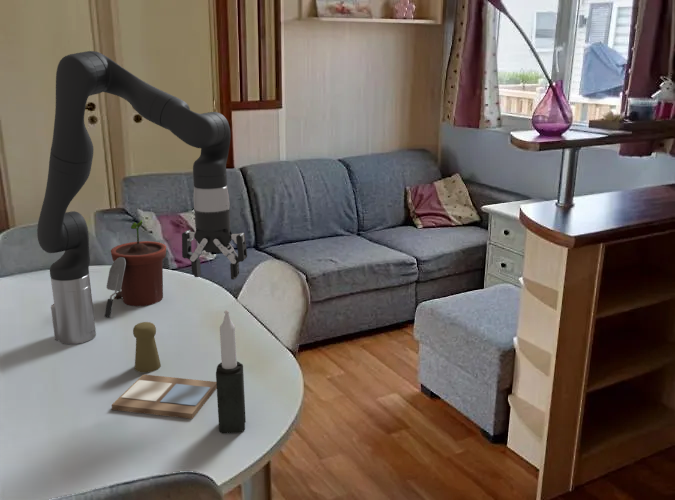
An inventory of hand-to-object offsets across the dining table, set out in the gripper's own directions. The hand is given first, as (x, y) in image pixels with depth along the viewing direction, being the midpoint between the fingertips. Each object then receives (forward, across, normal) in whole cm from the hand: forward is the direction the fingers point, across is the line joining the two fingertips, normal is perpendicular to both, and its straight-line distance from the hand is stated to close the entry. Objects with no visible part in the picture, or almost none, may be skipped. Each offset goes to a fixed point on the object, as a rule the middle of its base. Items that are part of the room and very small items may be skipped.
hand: (215, 277), depth 152 cm
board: (+24, -8, -13) cm, 28 cm away
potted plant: (+24, -42, +39) cm, 62 cm away
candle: (+24, +10, -22) cm, 34 cm away
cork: (+24, -18, 0) cm, 30 cm away
